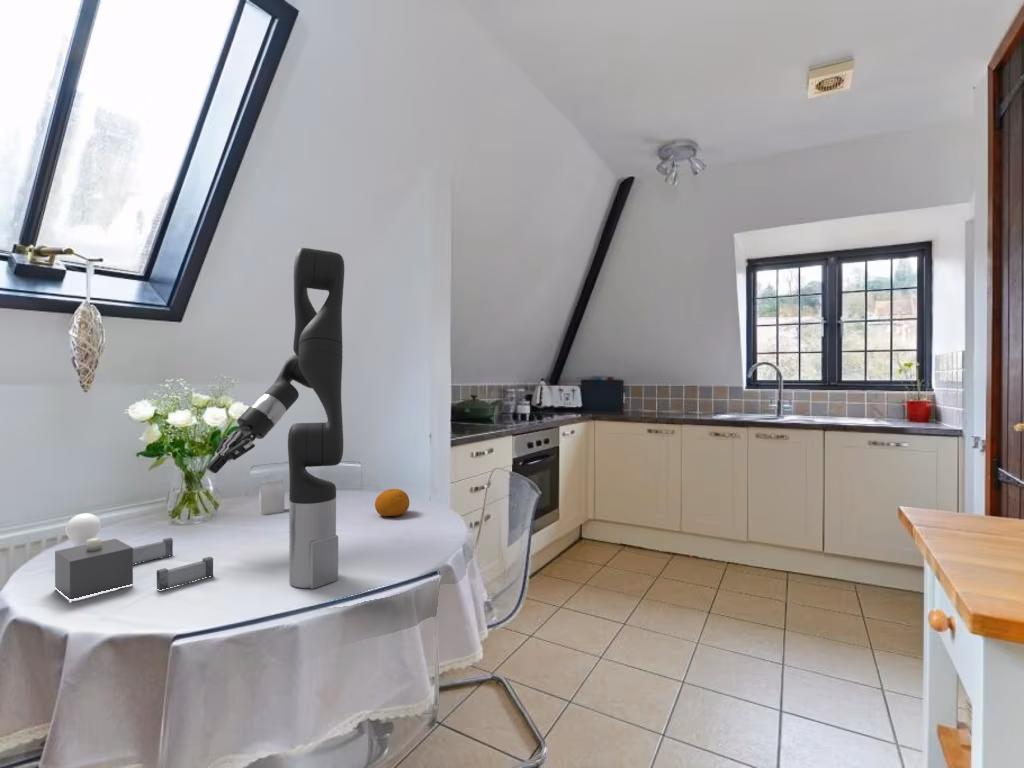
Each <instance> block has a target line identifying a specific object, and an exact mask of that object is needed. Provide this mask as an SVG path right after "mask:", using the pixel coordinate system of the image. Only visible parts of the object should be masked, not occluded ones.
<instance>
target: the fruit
mask: <svg viewBox="0 0 1024 768" xmlns="http://www.w3.org/2000/svg"><path fill="white" fill-rule="evenodd" d="M409 507H410V498H409V494H407V493H406V492H405V491H404V490H402V489H399V488H390V489H386V490H383V491H382V492H381V493H379V495H377V497H376V499H375V501H374V508H375V511H376V512H377V514H379V515H381V516H383V517H386V516H394V517H399V515H400V516H402V515H404V514H405V513H406V512H407V511H408V509H409Z"/></svg>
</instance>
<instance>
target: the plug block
mask: <svg viewBox="0 0 1024 768" xmlns="http://www.w3.org/2000/svg"><path fill="white" fill-rule="evenodd" d="M133 548H134V547H132V546H130V545H129V544H126V543H125V542H123V541H121V540H119V539H117V538H112V539H107V540H103V538H102V537H95V538H92V539H88V540H87V545H82V546H77V547H74V546H72V547H69V548H63V549H57V550H55V551H54V588H55V587H56V588H57V589H58V590H59V591H61V592H62V593H63V594H64V595H65V596H67V597H68V598H69V599H74V598H79V597H82V596H86V595H90V594H94V593H98V592H101V591H106V590H110V589H113V588H118V587H122V586H126V585H130V584H133V585H134V568H133V567H134V565H133Z"/></svg>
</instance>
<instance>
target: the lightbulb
mask: <svg viewBox="0 0 1024 768" xmlns="http://www.w3.org/2000/svg"><path fill="white" fill-rule="evenodd" d="M100 519H101V518H99V517H98V516H97V515H95V514H93V513H88V512H87V513H79V514H76V515H74V516H72V517H71V518H70V519H69V520H68V522H67V523H66V526H65V534H66V537H67V538H68V539H69V540H70V541H71V542H72V544H73V547H77V546H82V545H87V540H88V539H92V538H97V535H98V534H99V533H100V531H101V528H102V522H101V520H100Z"/></svg>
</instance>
